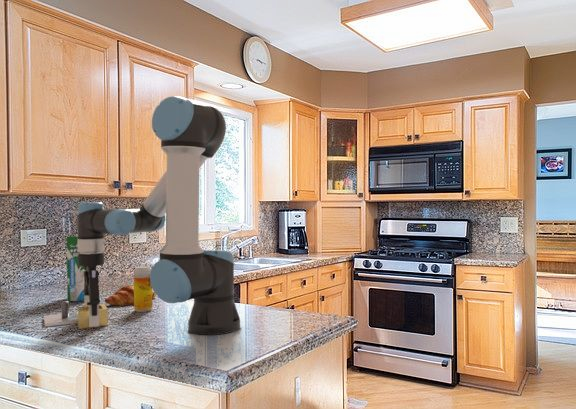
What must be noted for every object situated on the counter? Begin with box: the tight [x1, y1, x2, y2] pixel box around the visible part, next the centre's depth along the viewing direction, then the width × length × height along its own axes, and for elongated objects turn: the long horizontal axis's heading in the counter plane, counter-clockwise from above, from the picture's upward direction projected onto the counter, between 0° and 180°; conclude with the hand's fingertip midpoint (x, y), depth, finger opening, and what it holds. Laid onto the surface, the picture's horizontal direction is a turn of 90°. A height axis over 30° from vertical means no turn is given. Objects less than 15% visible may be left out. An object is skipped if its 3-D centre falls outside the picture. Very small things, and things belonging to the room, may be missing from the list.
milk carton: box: [66, 235, 86, 302], centre depth 188 cm, size 9×9×25 cm
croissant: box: [104, 285, 157, 306], centre depth 181 cm, size 21×10×8 cm, turn 141°
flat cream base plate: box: [43, 300, 77, 328], centre depth 153 cm, size 12×12×6 cm
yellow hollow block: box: [76, 303, 109, 330], centre depth 147 cm, size 8×8×5 cm
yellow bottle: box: [133, 265, 154, 313], centre depth 166 cm, size 6×6×15 cm
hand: (91, 321), depth 148 cm, fingers open, 13 cm apart
